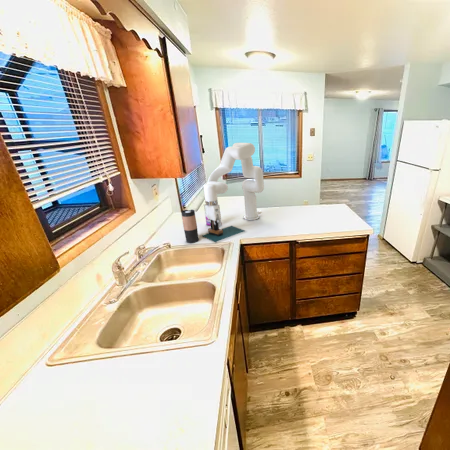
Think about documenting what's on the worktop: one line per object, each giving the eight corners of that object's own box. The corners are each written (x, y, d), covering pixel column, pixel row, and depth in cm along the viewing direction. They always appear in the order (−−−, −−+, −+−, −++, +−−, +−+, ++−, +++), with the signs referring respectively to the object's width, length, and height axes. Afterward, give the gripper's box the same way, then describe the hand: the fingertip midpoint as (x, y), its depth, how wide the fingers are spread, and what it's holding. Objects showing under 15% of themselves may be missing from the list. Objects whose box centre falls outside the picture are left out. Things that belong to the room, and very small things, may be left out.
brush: (213, 231, 166) (211, 218, 163) (223, 234, 162) (221, 221, 158) (208, 233, 163) (206, 220, 160) (218, 236, 158) (217, 223, 155)
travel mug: (190, 244, 148) (186, 213, 141) (183, 241, 152) (178, 211, 145) (201, 240, 154) (197, 210, 147) (194, 237, 158) (189, 208, 151)
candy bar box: (222, 225, 179) (219, 204, 174) (217, 227, 175) (214, 206, 169) (211, 223, 184) (208, 202, 178) (206, 225, 180) (203, 204, 174)
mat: (231, 226, 178) (231, 225, 178) (245, 231, 169) (245, 230, 169) (202, 236, 160) (202, 235, 160) (216, 242, 151) (216, 241, 151)
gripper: (224, 203, 153) (227, 230, 159) (209, 199, 162) (212, 225, 168) (214, 206, 147) (217, 233, 153) (199, 201, 156) (203, 228, 163)
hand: (214, 228), depth 161 cm, fingers closed on brush, 3 cm apart
